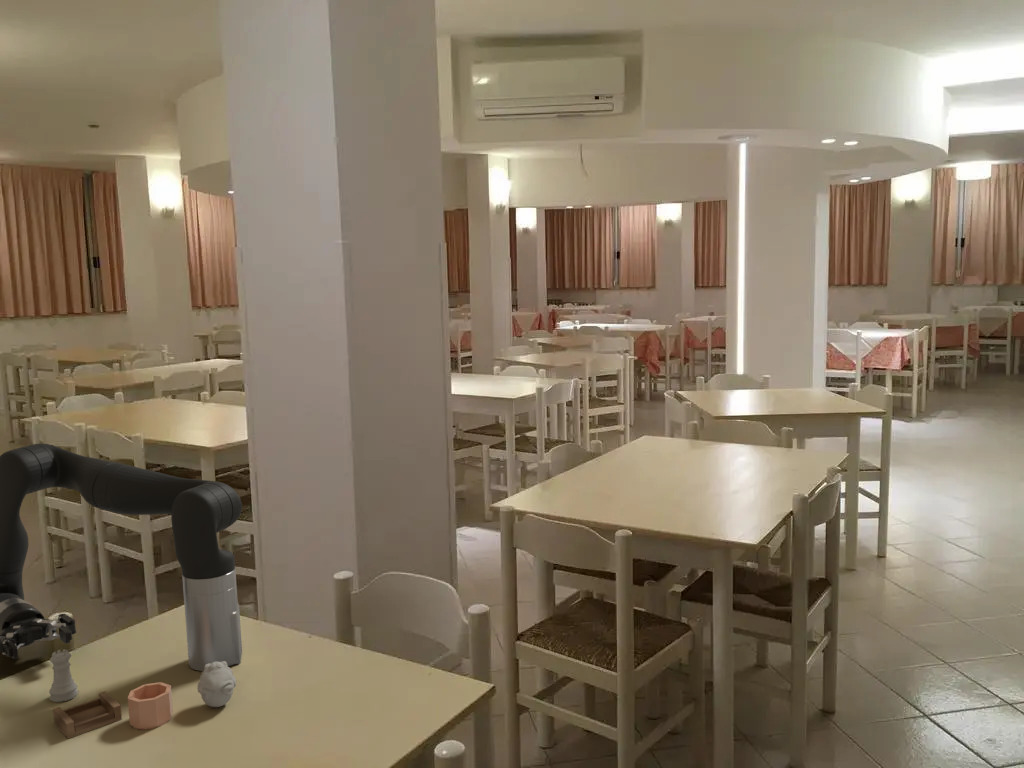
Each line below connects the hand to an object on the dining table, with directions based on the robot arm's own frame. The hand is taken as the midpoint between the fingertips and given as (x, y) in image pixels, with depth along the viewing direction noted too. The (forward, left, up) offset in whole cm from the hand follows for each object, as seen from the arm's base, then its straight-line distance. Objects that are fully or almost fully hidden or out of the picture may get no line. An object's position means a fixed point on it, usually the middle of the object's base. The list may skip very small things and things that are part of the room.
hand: (42, 645), depth 152 cm
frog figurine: (-31, +20, -6) cm, 38 cm away
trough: (-11, +20, -6) cm, 24 cm away
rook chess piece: (-5, +9, -6) cm, 12 cm away
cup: (-21, +22, -6) cm, 31 cm away
